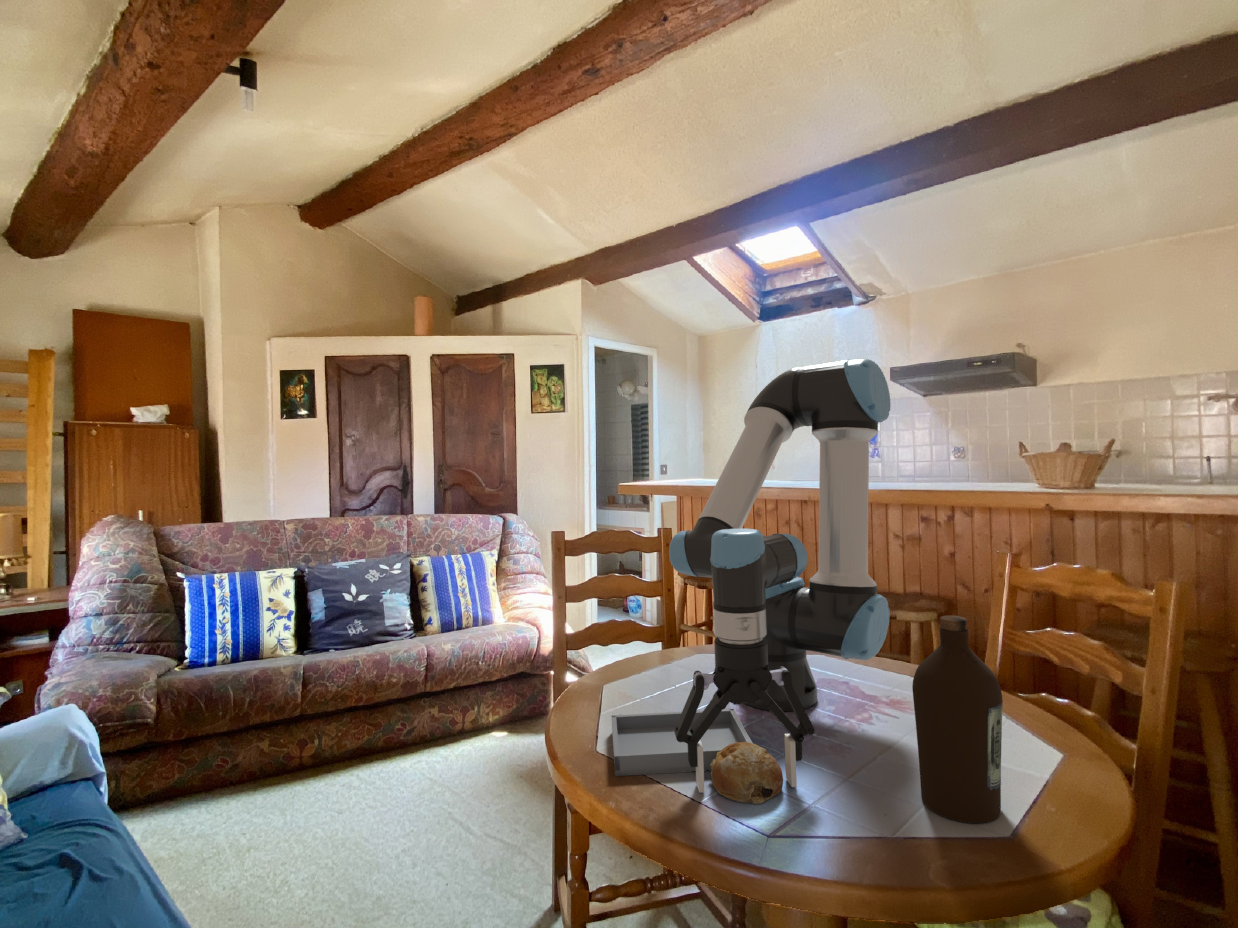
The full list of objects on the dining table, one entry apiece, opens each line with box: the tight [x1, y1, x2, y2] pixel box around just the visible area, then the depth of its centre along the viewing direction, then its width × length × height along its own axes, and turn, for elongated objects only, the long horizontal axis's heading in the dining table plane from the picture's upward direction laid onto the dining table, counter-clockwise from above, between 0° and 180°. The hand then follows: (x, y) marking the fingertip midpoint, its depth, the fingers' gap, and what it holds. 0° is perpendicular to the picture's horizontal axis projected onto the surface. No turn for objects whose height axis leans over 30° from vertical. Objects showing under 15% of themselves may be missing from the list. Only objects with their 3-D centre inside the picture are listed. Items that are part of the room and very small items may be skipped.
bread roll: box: [710, 742, 784, 806], centre depth 93 cm, size 10×10×8 cm
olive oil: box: [911, 615, 1004, 824], centre depth 86 cm, size 11×11×25 cm
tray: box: [611, 708, 754, 777], centre depth 106 cm, size 22×16×3 cm
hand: (745, 785), depth 93 cm, fingers open, 12 cm apart
